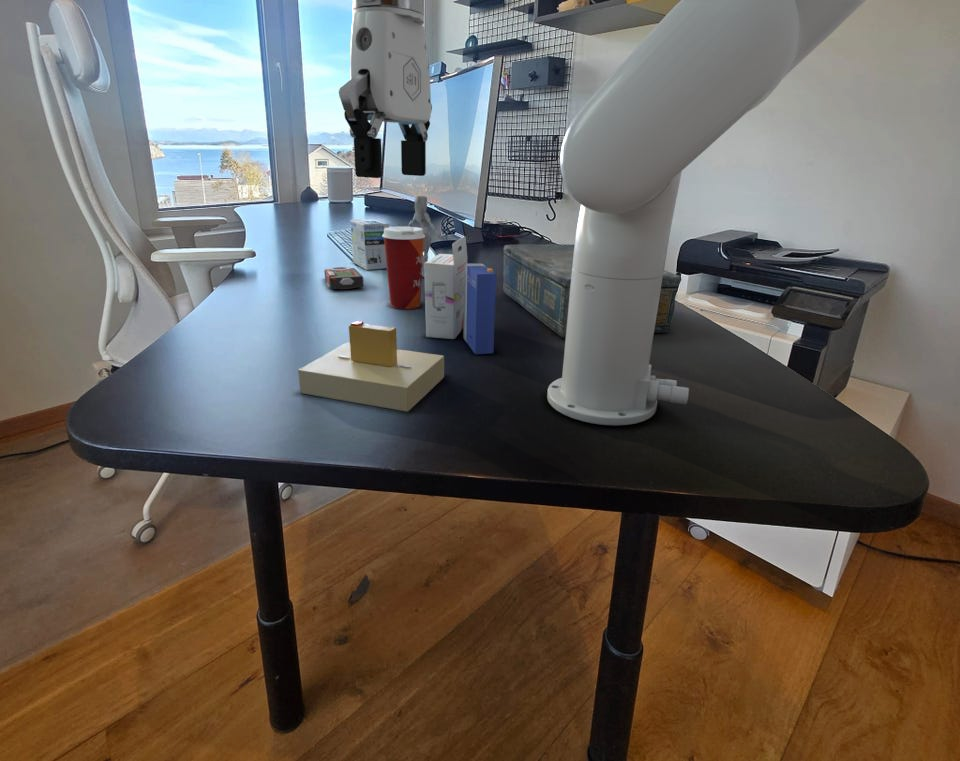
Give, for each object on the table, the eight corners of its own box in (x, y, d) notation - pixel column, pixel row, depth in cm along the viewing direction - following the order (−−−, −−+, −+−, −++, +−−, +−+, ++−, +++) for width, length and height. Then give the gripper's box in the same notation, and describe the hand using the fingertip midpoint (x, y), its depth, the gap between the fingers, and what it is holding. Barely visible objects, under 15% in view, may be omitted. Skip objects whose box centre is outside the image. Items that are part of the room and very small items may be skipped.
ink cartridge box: (438, 322, 93) (438, 233, 87) (467, 324, 92) (468, 235, 86) (423, 337, 85) (422, 241, 80) (454, 340, 84) (455, 243, 79)
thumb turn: (397, 362, 66) (396, 325, 64) (391, 367, 65) (390, 329, 63) (357, 356, 68) (355, 320, 66) (350, 361, 66) (348, 323, 65)
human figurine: (447, 280, 124) (447, 196, 117) (435, 282, 121) (434, 197, 114) (411, 272, 131) (409, 193, 124) (399, 274, 128) (396, 193, 121)
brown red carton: (352, 264, 125) (363, 274, 112) (353, 277, 126) (363, 289, 113) (322, 266, 123) (329, 276, 109) (323, 279, 124) (330, 291, 110)
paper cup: (431, 308, 101) (430, 231, 95) (390, 311, 98) (387, 232, 93) (419, 298, 108) (418, 225, 102) (380, 301, 105) (377, 226, 99)
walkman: (493, 353, 79) (496, 271, 75) (475, 354, 79) (477, 271, 74) (480, 336, 86) (482, 260, 82) (463, 337, 86) (464, 261, 81)
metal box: (590, 289, 119) (595, 242, 115) (676, 334, 90) (687, 274, 86) (497, 292, 114) (499, 244, 110) (557, 341, 85) (562, 278, 81)
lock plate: (444, 377, 70) (444, 354, 69) (407, 412, 61) (407, 386, 60) (348, 362, 74) (347, 340, 73) (300, 393, 65) (297, 368, 63)
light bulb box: (392, 268, 134) (390, 223, 130) (365, 270, 131) (363, 224, 127) (377, 261, 143) (375, 218, 138) (351, 262, 139) (349, 219, 135)
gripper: (371, -21, 49) (378, 180, 56) (456, 21, 64) (453, 176, 71) (305, -15, 52) (319, 176, 59) (401, 24, 67) (403, 173, 73)
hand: (392, 176), depth 65 cm, fingers open, 9 cm apart
